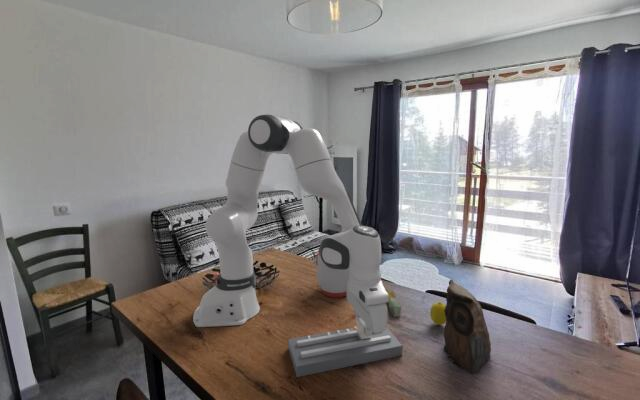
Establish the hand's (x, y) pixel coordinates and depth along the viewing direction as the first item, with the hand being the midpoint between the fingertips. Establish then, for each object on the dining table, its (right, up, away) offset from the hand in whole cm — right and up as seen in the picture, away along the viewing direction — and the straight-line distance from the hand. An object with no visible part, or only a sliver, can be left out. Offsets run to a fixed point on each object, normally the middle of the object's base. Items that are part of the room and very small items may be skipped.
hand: (364, 329), depth 92 cm
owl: (+28, -7, -3) cm, 29 cm away
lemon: (+26, -4, +12) cm, 29 cm away
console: (-6, -6, 0) cm, 8 cm away
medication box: (+14, -2, +24) cm, 27 cm away
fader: (0, -3, 0) cm, 3 cm away
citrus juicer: (-7, 0, +37) cm, 38 cm away
